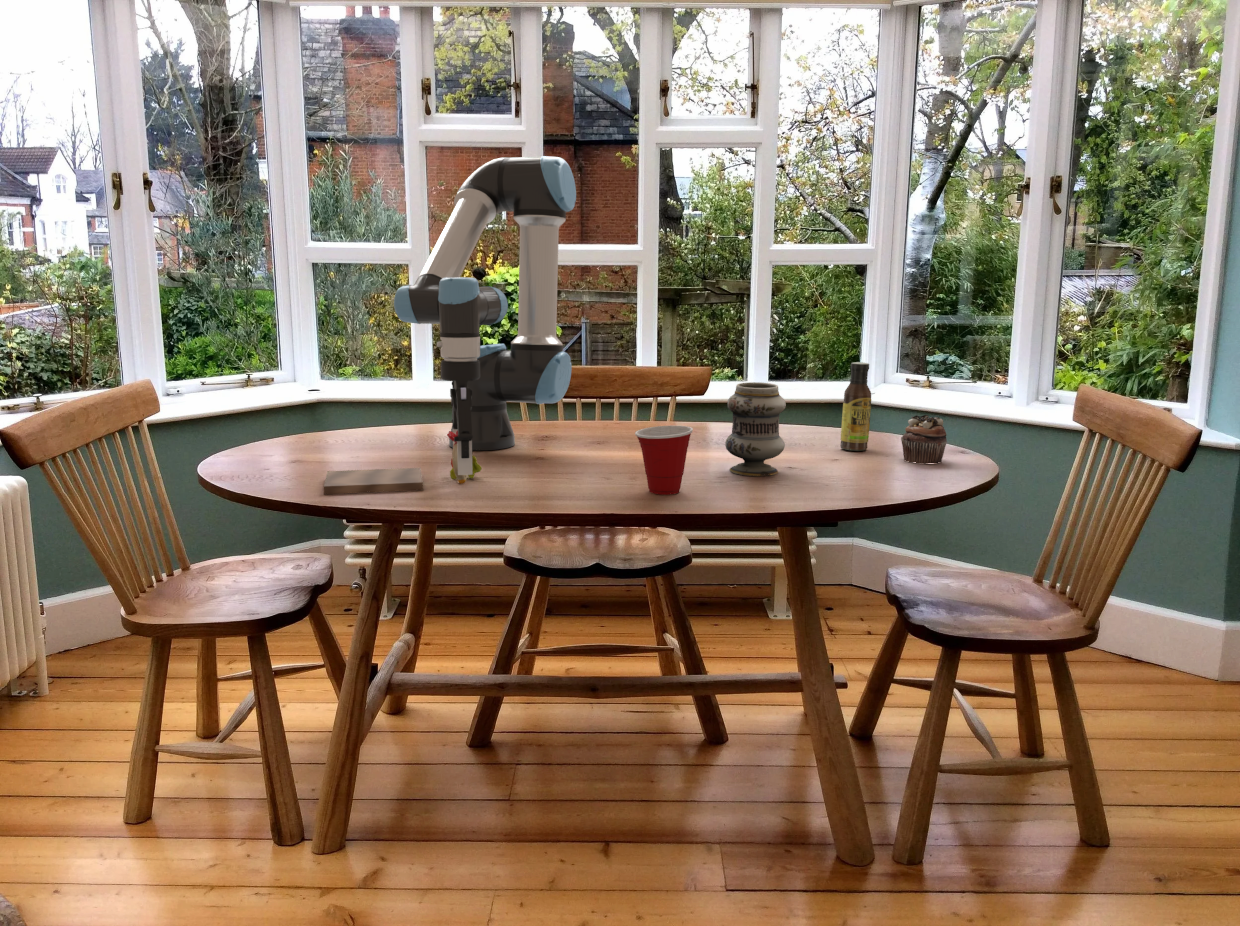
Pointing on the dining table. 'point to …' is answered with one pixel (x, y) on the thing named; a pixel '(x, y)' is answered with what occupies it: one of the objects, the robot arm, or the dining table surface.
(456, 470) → the bird rattle
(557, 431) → the dining table surface
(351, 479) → the walnut board
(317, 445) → the dining table surface
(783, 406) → the apothecary jar
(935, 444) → the cupcake
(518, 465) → the dining table surface
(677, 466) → the plastic cup
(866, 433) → the sauce bottle
